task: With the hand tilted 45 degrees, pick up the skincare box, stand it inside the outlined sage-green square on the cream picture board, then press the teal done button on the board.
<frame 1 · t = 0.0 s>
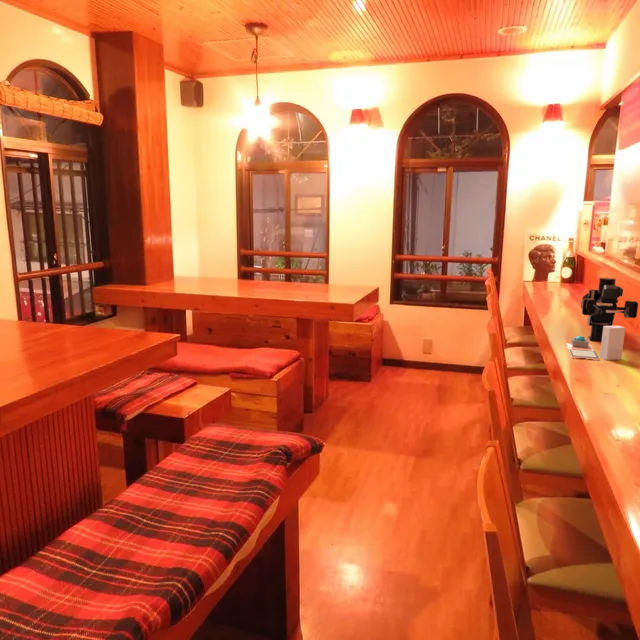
hand: (613, 312, 200), 17 cm above the bar counter, tool horizontal, fingers open, 9 cm apart
done button: (579, 339, 213), point 3 cm above the bar counter, slide at 0.0 cm
picture board: (581, 352, 208), on the bar counter
skincare box: (610, 359, 199), on the bar counter
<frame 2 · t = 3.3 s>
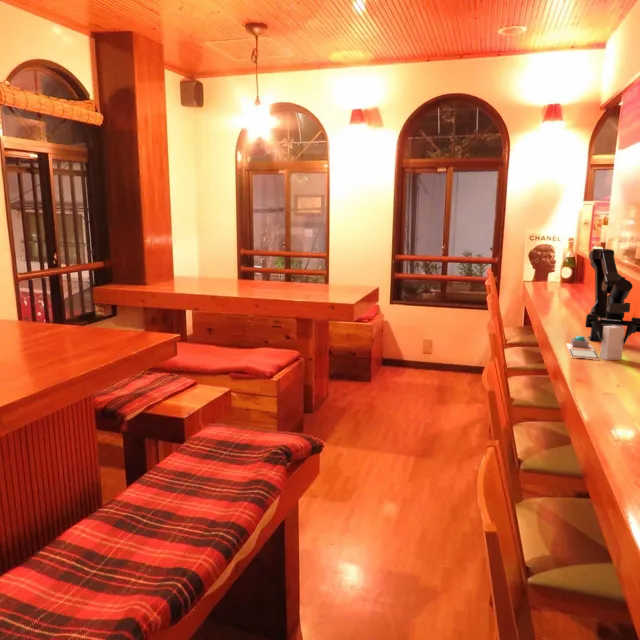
hand: (612, 341, 197), 7 cm above the bar counter, tool tilted 45°, fingers closed on skincare box, 7 cm apart
skincare box: (610, 359, 199), on the bar counter, touching gripper
everything else where it was.
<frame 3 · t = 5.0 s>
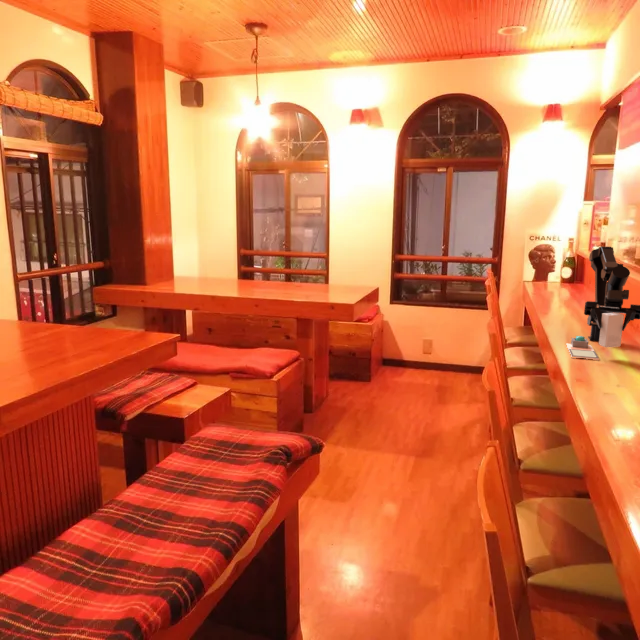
hand: (611, 329, 196), 11 cm above the bar counter, tool tilted 45°, fingers closed on skincare box, 7 cm apart
skincare box: (609, 346, 199), point 4 cm above the bar counter, touching gripper
everything else where it was.
when the fingers open (9 cm above the bar counter, at t = 6.7 s): skincare box drops 1 cm, resting on picture board.
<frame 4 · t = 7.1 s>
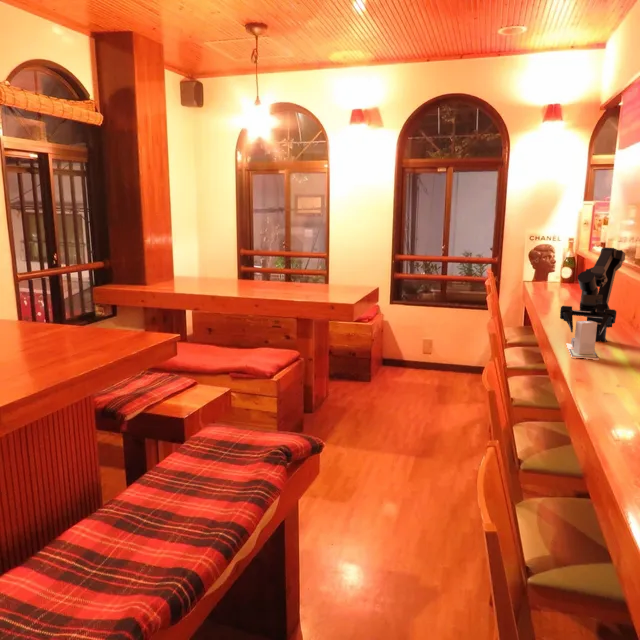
hand: (585, 333, 200), 9 cm above the bar counter, tool tilted 45°, fingers open, 9 cm apart
skincare box: (583, 353, 203), point 1 cm above the bar counter, touching picture board
everything else where it was.
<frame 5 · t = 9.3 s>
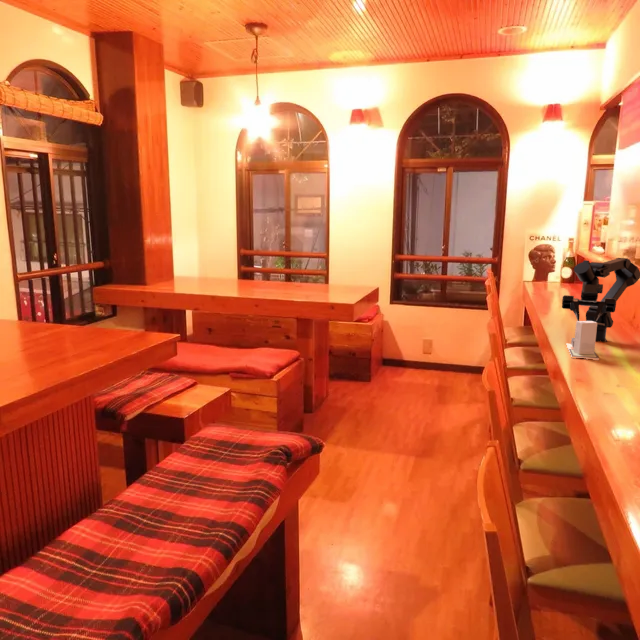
hand: (586, 321, 208), 12 cm above the bar counter, tool tilted 45°, fingers open, 5 cm apart
nothing on the bar counter moved.
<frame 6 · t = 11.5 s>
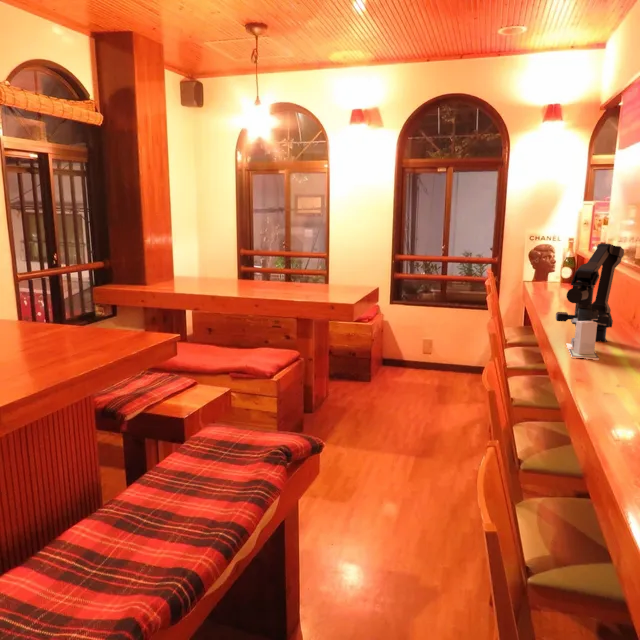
hand: (580, 339, 213), 3 cm above the bar counter, tool pointing down, fingers closed, pressing on done button
done button: (579, 342, 214), point 2 cm above the bar counter, slide at 1.0 cm, touching gripper
everything else where it was.
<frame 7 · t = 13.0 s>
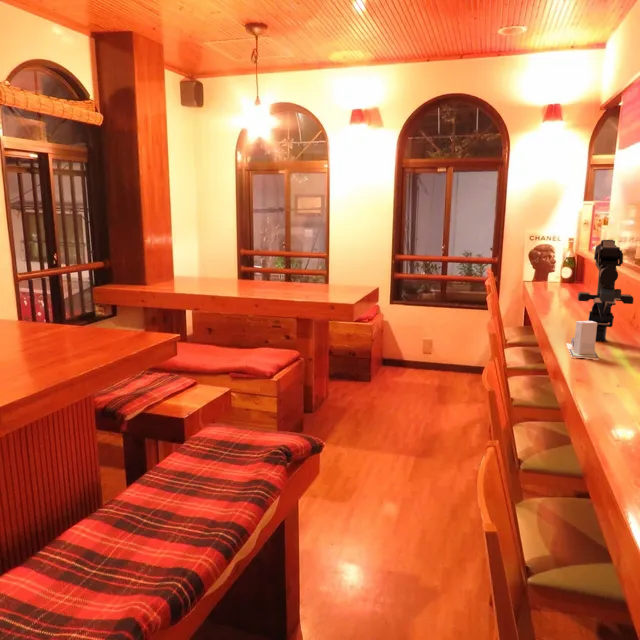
hand: (602, 319, 211), 12 cm above the bar counter, tool pointing down, fingers closed
done button: (579, 342, 214), point 2 cm above the bar counter, slide at 1.0 cm
everything else where it was.
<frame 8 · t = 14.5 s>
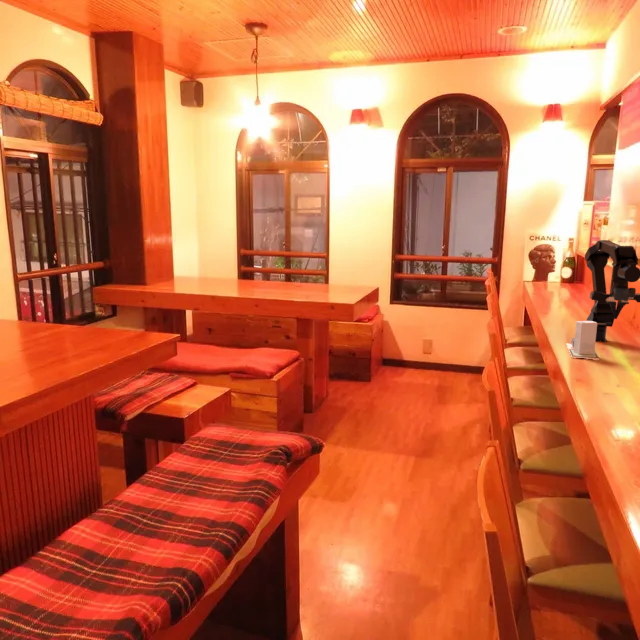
hand: (615, 318, 211), 12 cm above the bar counter, tool pointing down, fingers closed
nothing on the bar counter moved.
at the end: skincare box 0.2 cm from the target spot on the picture board, point 0.7 cm above the picture board's base; skincare box tilted 0°; done button slide at 1.0 cm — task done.
